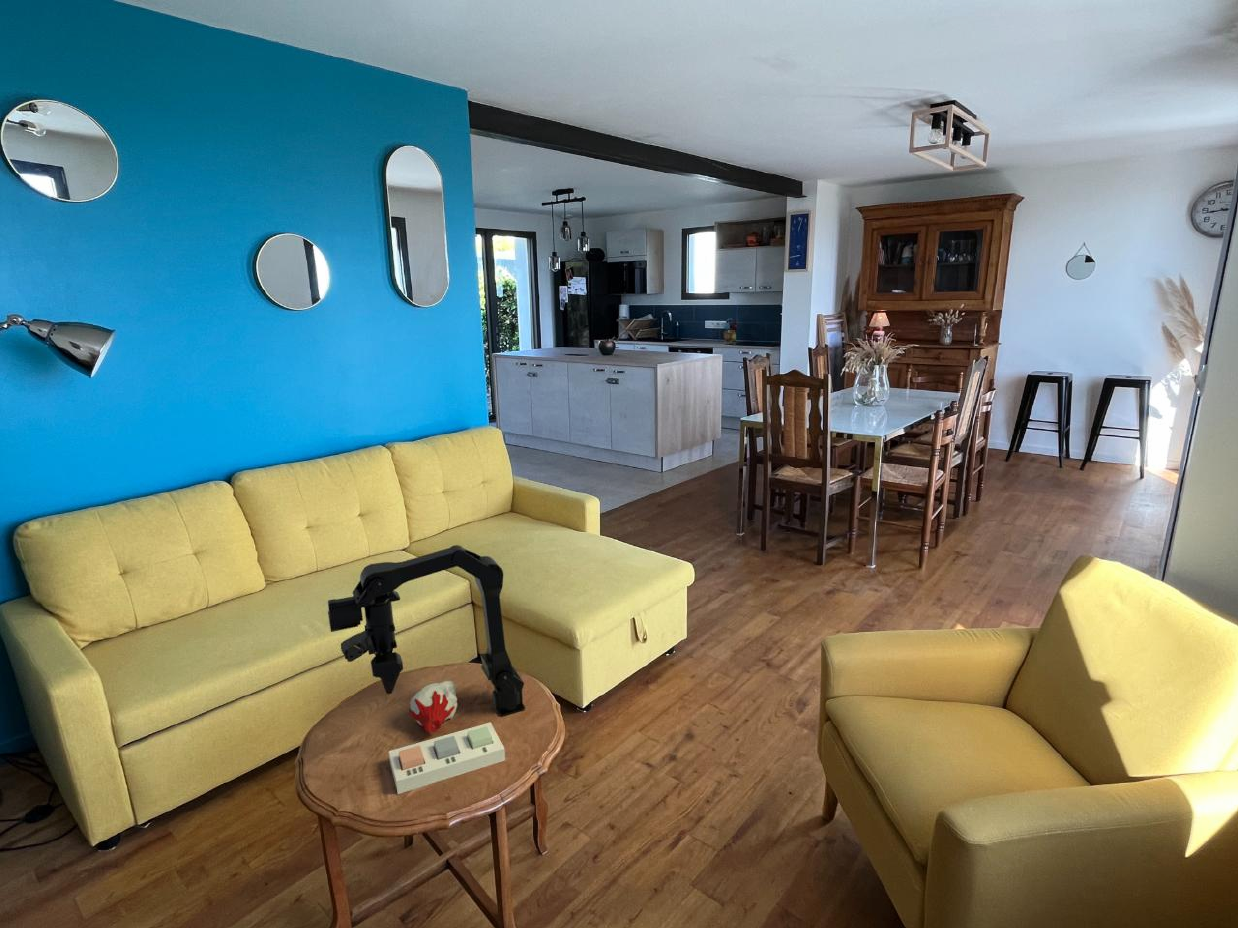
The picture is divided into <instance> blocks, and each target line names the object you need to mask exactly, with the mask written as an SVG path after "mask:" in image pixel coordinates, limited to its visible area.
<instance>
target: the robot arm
mask: <svg viewBox="0 0 1238 928" xmlns="http://www.w3.org/2000/svg"><path fill="white" fill-rule="evenodd" d="M456 567H458V568H459V569H461V570H463V571H465V572H467V574H469V575H471V576H472V577H474V580H475V583H476V585H477V588H478V591H479V594H480V596H481V604H482V610H483V619H484V620H483V621H484V628H485V629H484V630H485V638H486V647H487V648H486V651H485V653H480V659H481V670H482V671H483V674H485V676H486V678H487V680H488V681H490V682H491V684H492V685H493V689H494V690H493V691H492V694H491V695H492V704H493V705H492V706H493V708H494V709H495V711H496V712H497V713H498V715H499V716H500V717H504V716H507V715H511V714H515V713H517V712H521V711H525V710H526V706H525V705H524V702H523V701H524V700H523V699H524V698H523V689H524V685H525V682H524V681H523V679H522V677H521V676H520V674H519V673H518V672H517V671H516V669H515V667H514V666H513V665H512V662H511V659H510V657H509V654H508V652H507V650H506V642H505V634H504V624H503V623H504V622H503V616H502V605H501V599H500V598H501V597H500V596H501V593H502V590H503V588H504V587H503V585H504V570H503V569H502V567H501V566H500V565H499V564H498V562H496V561H495V559H494V558H492V557H491V556H489V555H484V556H483V555H482V556H481V555H479V554H477V553H476V552H473V551H471V550H468V549H467V548H464V547H463V546H461V545H458V544H454V545H452V546H450V547H448V548H446V549H441V550H438V551H434V552H431V553H427V554H425V555H424V554H423V555H421V556H417V557H414V558H410V559H407V560H404V561H399V562H391V561H384V562H383V561H382V562H377V563H370V564H368V565H366V566H365V567H363V569H362V570H361V572H360V575H359V582H358V583H357V584H356V586H355V587H354V589H353V591H352V596H349V597H344V598H338V599H336V598H334V599H333V598H332V599H329V600H327V606H328V607H327V608H328V610H327V614H328V615H327V617H328V624H329V631H330V633H332V632H333V633H334V632H338V631H343V630H348V629H352V628H357V627H359V626H360V625H362V623H361V622H363V621H364V619H363V618H365V625H364V630H363V631H361V632H358V633H356V634H354V635H352V636H351V637H348V638H347V639H345V640H343V641H341V643H340V649H341V650H340V651H341V652H342V654H343V656H344V659H345V660H346V661H347V662H348V663H352V662H353V661H355V660H357V659H359V658H360V657H362V656H363V655H364V654H366V653H368V655H369V656H370V655H374V657H373V658H372V660H371V659H370V667H371V673H372V677H374V678H380V680H381V683H382V686H383V688H384V691H385V693H386V695H392V693H394V689H395V687H396V684H397V681H398V678H399V676H400V674H401V672H403V670H404V665H403V659H402V657H401V654H399V653H398V652H396V651H395V652H394V651H393V650H394V649H397V648H398V645H397V640H396V636H395V633H396V632H395V631H396V626H395V623H394V617H393V616H394V613H393V606H392V602H398V601H400V600H401V597H400V594H399V592H398V591H396V590H397V589H398V588H399V587H401V585H403V584H406V583H407V582H410V581H412V580H417V579H420V578H423V577H427V576H430V575H433V574H437V573H440V572H444V571H446V570H449V569H453V568H456ZM362 609H364V617H363V611H362Z"/></svg>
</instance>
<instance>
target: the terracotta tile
mask: <svg viewBox="0 0 1238 928" xmlns="http://www.w3.org/2000/svg"><path fill="white" fill-rule="evenodd" d="M399 758H400V763H401V766H402V770H406V769H409V768H413V767H416V766H419V765H423V764H424V758H423V754H422V751H421V748H420V746H416V747H413V748H409V749H406V750H402V751H399Z"/></svg>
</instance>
